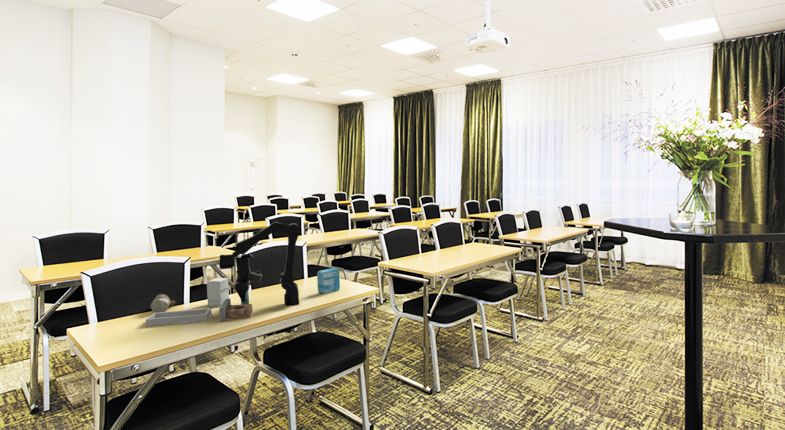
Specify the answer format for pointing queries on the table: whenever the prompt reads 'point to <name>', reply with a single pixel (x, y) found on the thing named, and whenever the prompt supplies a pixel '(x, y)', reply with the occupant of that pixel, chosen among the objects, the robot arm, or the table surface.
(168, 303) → the ceramic sculpture
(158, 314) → the rectangular open frame
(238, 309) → the pocket block
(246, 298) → the dowel
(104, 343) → the table surface
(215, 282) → the supplement box
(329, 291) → the data package
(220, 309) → the backstop wall
